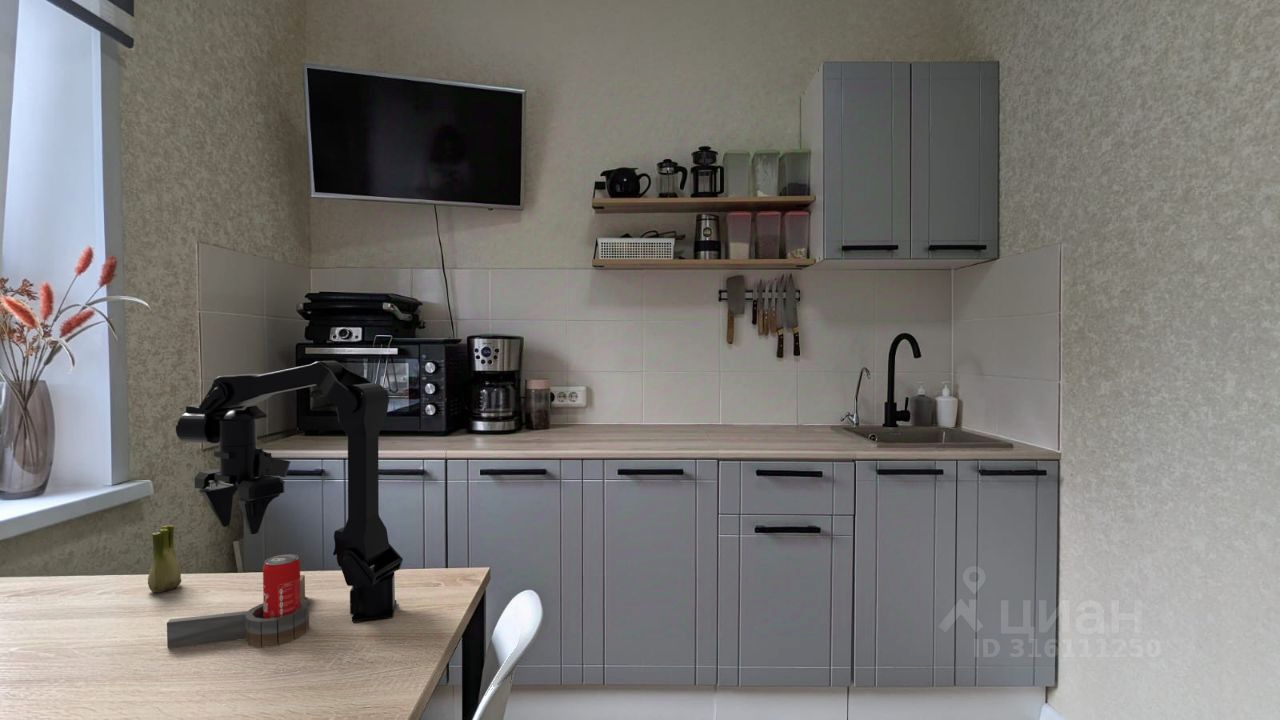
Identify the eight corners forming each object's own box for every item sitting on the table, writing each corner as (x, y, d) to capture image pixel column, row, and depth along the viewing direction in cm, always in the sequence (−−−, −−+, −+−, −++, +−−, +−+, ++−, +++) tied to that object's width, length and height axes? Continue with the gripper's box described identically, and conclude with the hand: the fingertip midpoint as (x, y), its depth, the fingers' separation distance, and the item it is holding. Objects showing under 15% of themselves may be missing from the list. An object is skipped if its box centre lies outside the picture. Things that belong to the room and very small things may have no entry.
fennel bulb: (158, 597, 115) (156, 532, 114) (138, 594, 116) (137, 530, 115) (189, 585, 120) (187, 523, 120) (169, 582, 121) (168, 521, 121)
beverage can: (287, 640, 98) (287, 564, 97) (256, 639, 98) (255, 564, 98) (307, 625, 103) (306, 553, 103) (277, 625, 103) (276, 553, 103)
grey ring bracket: (300, 642, 97) (300, 617, 97) (155, 660, 92) (155, 633, 92) (327, 594, 116) (326, 572, 115) (208, 606, 110) (207, 584, 110)
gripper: (312, 441, 114) (313, 525, 115) (254, 434, 123) (256, 512, 124) (249, 451, 104) (251, 543, 105) (192, 442, 114) (194, 526, 114)
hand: (240, 529), depth 112 cm, fingers open, 9 cm apart
